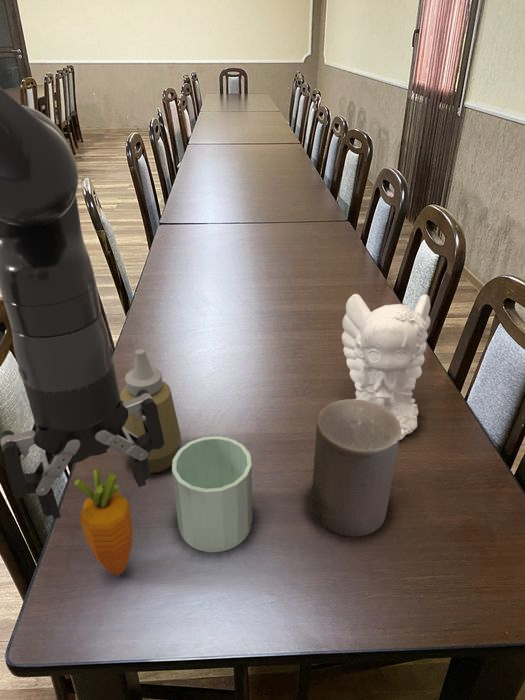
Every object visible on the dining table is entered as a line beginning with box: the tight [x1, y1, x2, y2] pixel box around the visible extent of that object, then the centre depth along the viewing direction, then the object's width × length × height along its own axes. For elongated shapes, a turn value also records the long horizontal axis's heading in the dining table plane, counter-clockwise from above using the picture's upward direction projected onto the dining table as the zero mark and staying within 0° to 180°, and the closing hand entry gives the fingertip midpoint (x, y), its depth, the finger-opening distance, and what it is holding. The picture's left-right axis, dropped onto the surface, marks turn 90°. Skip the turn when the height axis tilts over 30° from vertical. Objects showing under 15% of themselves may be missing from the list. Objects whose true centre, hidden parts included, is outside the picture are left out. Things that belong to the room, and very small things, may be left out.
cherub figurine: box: [341, 293, 431, 441], centre depth 80 cm, size 13×12×20 cm
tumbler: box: [171, 435, 253, 553], centre depth 64 cm, size 9×9×10 cm
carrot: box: [74, 468, 133, 576], centre depth 56 cm, size 5×5×15 cm
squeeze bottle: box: [120, 348, 182, 474], centre depth 71 cm, size 8×8×18 cm
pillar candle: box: [310, 398, 401, 538], centre depth 65 cm, size 10×10×15 cm
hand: (98, 496), depth 54 cm, fingers open, 8 cm apart
